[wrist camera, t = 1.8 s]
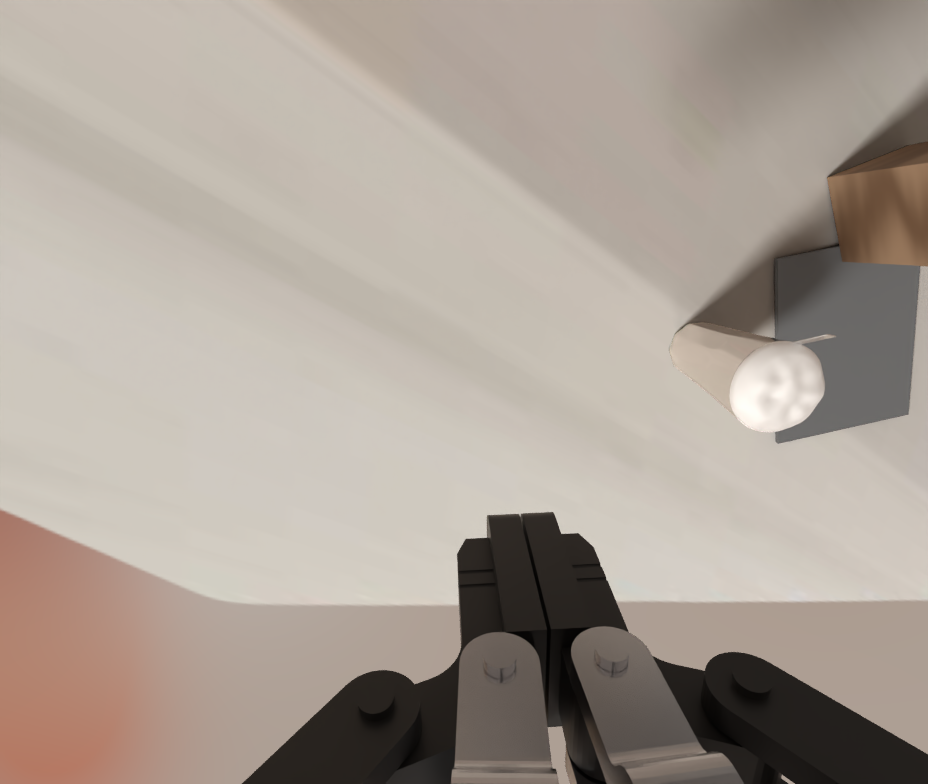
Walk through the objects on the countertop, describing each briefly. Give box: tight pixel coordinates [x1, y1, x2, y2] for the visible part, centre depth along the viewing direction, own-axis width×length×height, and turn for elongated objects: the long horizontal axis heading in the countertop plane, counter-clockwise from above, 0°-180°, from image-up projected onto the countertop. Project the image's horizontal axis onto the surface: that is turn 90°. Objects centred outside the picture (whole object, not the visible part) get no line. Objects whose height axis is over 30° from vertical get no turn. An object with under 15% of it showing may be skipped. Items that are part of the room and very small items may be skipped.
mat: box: [775, 246, 920, 444], centre depth 36 cm, size 12×9×1 cm
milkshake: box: [669, 322, 836, 432], centre depth 30 cm, size 5×5×10 cm
